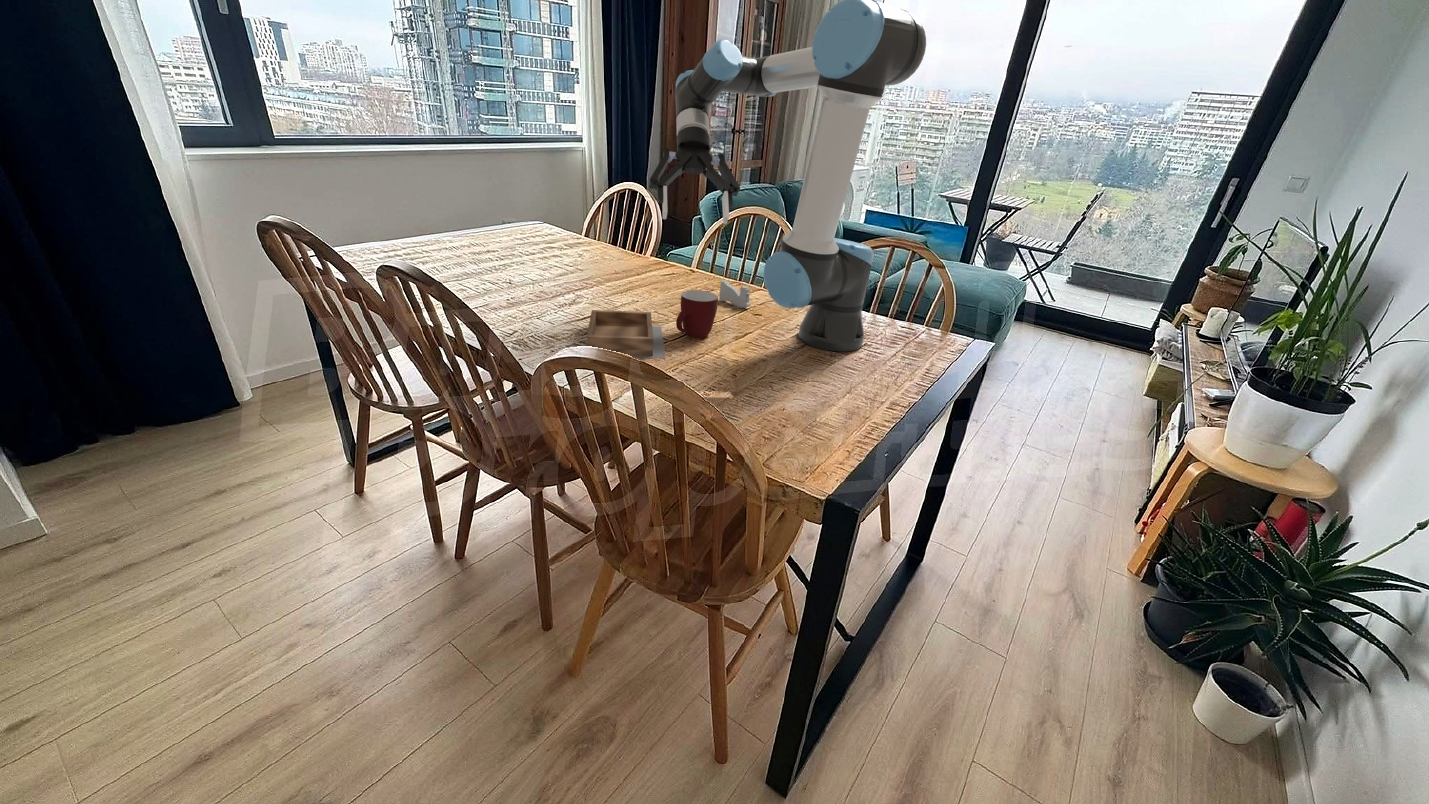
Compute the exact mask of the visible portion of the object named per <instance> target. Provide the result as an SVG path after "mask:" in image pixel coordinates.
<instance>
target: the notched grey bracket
mask: <svg viewBox="0 0 1429 804" xmlns="http://www.w3.org/2000/svg"><path fill="white" fill-rule="evenodd" d="M739 290H740V291H739ZM739 290H738V289H737V287H735V286H733V285H731V284H730V283H729V281H728V280H725V279H723V280H721V281H720V287H719V297H718V301H719V302H729V303H731V304H732V305H733V306H735V307H736V308H740V309H746V308H747V309H748V308H749V307H750V306H751V305H752V304H751V302H750V296H751V295H752V294H751V292H750V290H751V289H750V288H749V286H745V285H744V286H741V287H740V289H739Z"/></svg>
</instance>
